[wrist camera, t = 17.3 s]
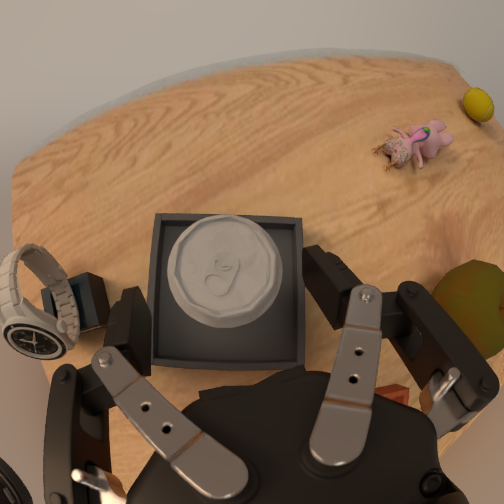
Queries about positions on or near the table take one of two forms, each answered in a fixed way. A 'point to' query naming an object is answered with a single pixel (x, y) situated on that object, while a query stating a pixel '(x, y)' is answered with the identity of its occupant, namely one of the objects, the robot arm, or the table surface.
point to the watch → (49, 306)
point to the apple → (475, 303)
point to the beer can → (224, 271)
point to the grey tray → (238, 338)
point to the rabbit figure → (416, 143)
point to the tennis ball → (478, 105)
